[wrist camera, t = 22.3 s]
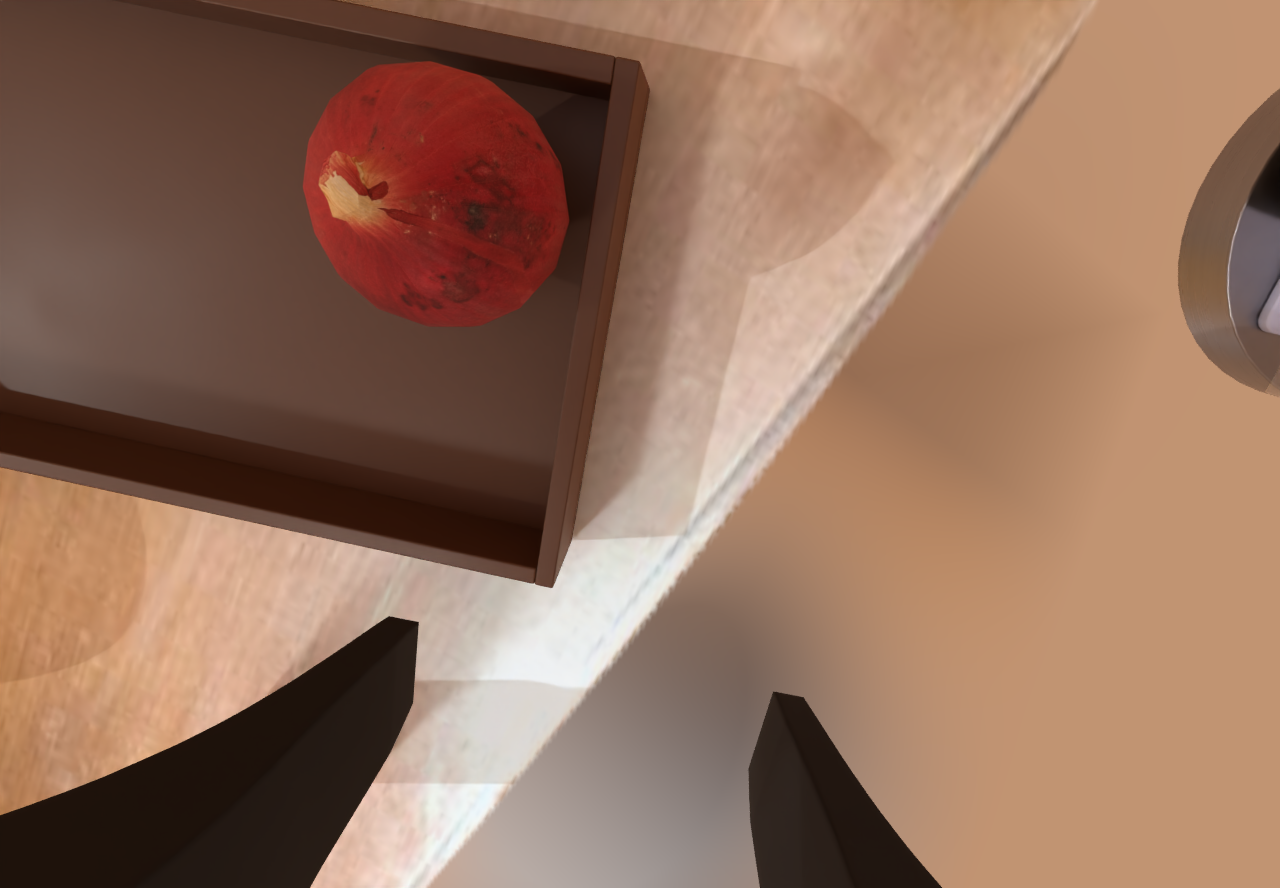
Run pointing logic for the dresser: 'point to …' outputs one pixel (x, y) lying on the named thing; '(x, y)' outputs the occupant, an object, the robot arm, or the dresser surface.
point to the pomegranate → (435, 194)
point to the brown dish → (286, 282)
